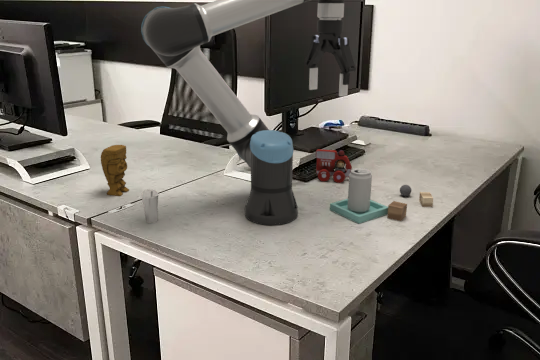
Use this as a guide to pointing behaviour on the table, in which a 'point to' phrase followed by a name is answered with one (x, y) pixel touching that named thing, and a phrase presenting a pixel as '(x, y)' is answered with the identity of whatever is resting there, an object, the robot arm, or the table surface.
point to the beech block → (426, 199)
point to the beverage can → (359, 190)
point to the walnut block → (397, 211)
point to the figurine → (114, 168)
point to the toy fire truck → (332, 165)
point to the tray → (372, 213)
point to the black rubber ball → (405, 190)
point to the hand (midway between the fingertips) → (327, 92)
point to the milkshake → (150, 205)
